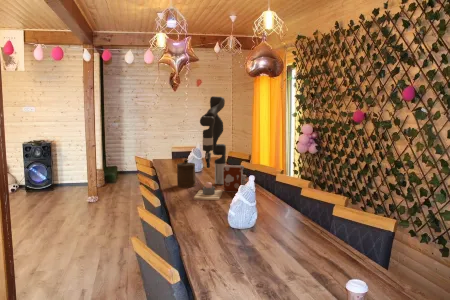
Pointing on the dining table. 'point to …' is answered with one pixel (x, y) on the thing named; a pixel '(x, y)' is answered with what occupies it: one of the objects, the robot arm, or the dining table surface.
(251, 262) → the dining table surface
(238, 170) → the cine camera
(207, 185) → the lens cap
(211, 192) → the lens barrel
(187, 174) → the wooden container
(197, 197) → the mount board
